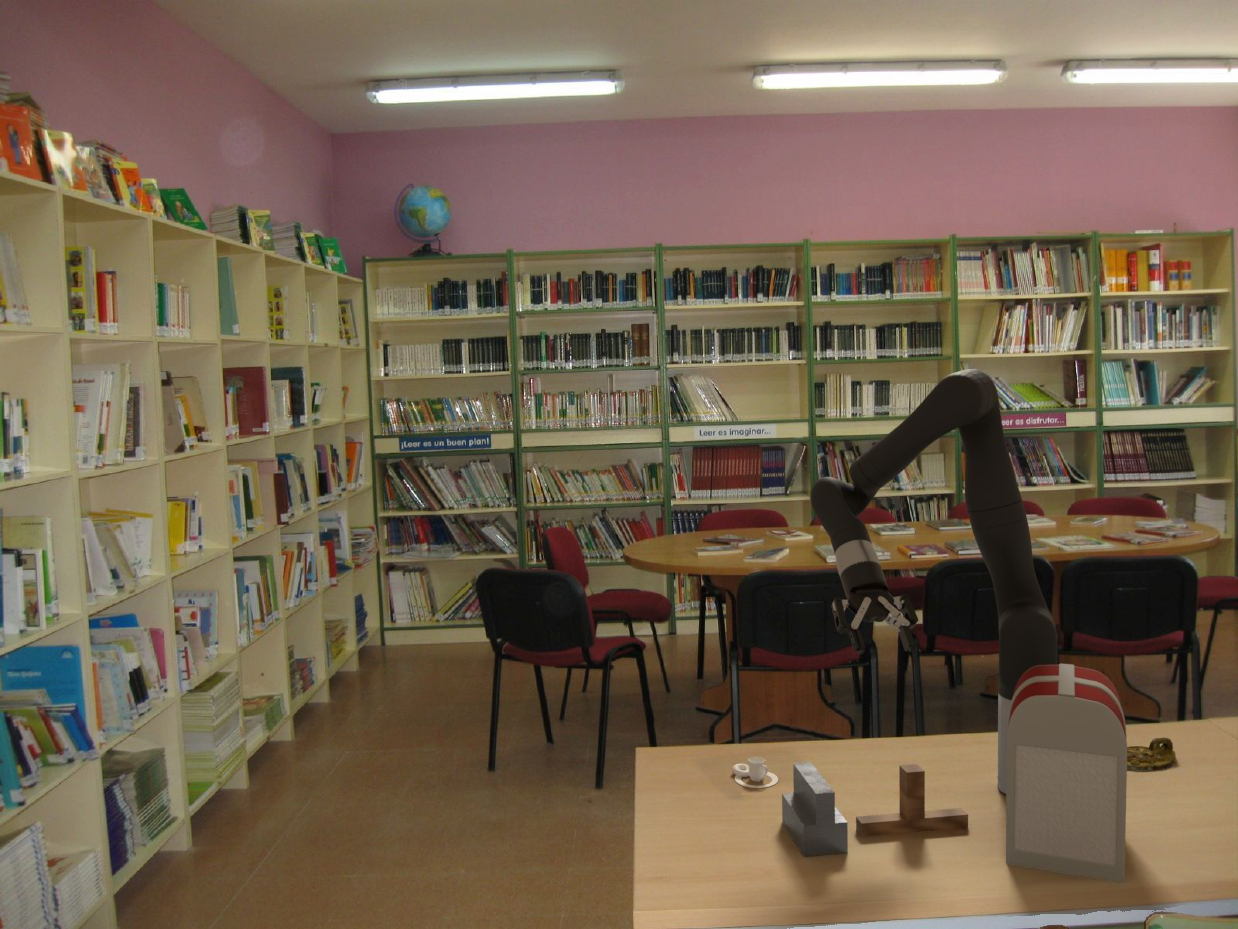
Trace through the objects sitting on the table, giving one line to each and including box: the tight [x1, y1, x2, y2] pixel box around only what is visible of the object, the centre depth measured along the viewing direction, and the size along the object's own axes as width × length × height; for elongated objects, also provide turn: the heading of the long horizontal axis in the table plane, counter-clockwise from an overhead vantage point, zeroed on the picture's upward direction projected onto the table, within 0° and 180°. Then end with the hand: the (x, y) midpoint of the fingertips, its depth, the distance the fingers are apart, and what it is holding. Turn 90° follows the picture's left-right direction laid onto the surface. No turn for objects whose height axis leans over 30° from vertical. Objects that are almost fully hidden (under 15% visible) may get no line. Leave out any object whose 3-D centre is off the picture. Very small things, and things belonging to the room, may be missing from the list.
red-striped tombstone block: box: [1005, 663, 1128, 884], centre depth 155 cm, size 17×18×27 cm
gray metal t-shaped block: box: [781, 761, 849, 858], centre depth 161 cm, size 12×7×10 cm, turn 7°
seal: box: [1127, 737, 1177, 772], centre depth 188 cm, size 9×5×15 cm
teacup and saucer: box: [732, 756, 779, 789], centre depth 185 cm, size 9×8×4 cm
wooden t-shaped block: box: [855, 763, 969, 838], centre depth 163 cm, size 18×3×10 cm, turn 97°
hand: (885, 650), depth 172 cm, fingers open, 8 cm apart
